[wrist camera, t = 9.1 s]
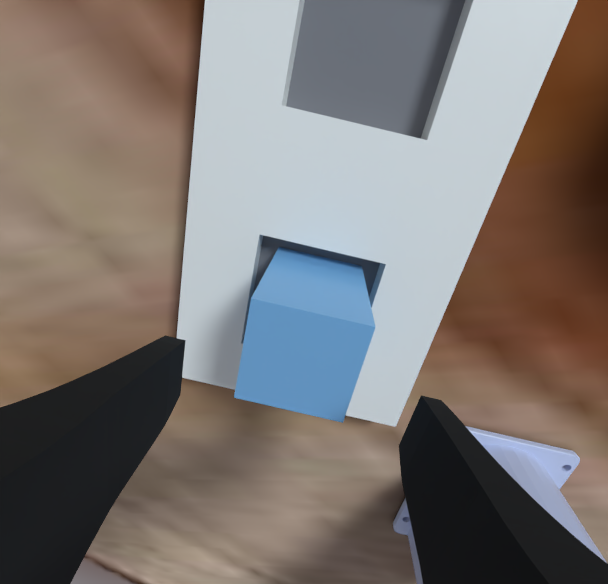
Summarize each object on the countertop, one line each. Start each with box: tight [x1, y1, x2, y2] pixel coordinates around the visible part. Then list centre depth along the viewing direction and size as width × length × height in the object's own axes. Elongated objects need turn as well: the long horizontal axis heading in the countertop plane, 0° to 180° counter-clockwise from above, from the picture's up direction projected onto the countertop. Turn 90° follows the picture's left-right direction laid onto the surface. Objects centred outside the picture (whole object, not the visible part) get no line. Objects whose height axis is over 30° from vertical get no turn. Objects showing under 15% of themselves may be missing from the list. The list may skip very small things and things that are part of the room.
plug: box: [234, 247, 375, 422], centre depth 15 cm, size 4×4×6 cm
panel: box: [177, 0, 578, 427], centre depth 15 cm, size 22×12×2 cm, turn 168°
